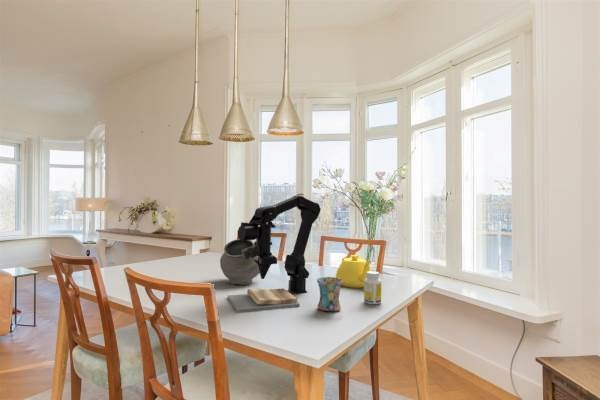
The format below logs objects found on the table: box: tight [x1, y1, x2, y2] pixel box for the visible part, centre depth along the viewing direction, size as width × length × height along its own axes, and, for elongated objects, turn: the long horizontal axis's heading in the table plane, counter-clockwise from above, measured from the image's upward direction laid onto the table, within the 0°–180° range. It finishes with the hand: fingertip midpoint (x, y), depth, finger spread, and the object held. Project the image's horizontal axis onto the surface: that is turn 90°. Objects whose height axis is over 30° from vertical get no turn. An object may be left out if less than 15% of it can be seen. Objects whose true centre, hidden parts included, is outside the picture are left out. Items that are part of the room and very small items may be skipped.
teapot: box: [335, 254, 373, 289], centre depth 163 cm, size 25×18×14 cm
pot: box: [219, 237, 260, 286], centre depth 164 cm, size 21×21×25 cm
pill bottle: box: [363, 270, 382, 305], centre depth 134 cm, size 6×6×12 cm
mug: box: [316, 276, 343, 312], centre depth 123 cm, size 12×9×11 cm
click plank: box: [246, 288, 282, 304], centre depth 132 cm, size 9×16×2 cm, turn 21°
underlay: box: [227, 293, 300, 313], centre depth 132 cm, size 23×19×1 cm
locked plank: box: [269, 288, 298, 304], centre depth 134 cm, size 6×16×2 cm, turn 21°
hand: (262, 278), depth 137 cm, fingers closed
